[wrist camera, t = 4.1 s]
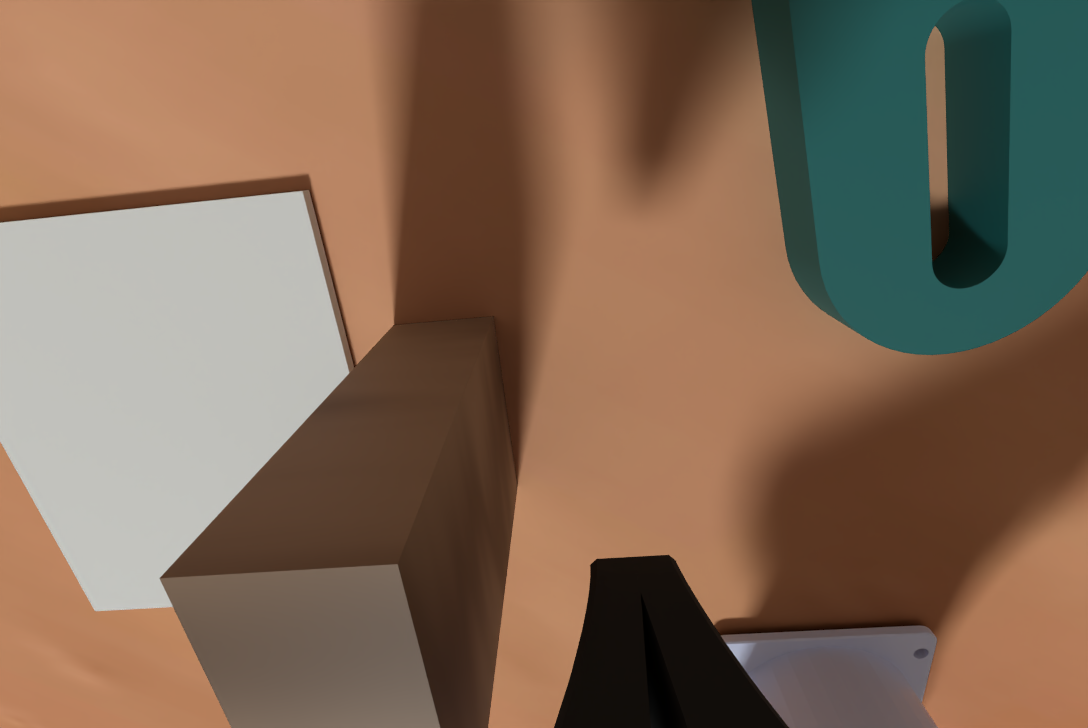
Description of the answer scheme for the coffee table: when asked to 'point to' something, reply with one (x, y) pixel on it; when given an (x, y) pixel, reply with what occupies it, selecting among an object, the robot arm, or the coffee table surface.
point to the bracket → (903, 169)
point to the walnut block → (366, 549)
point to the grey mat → (158, 371)
